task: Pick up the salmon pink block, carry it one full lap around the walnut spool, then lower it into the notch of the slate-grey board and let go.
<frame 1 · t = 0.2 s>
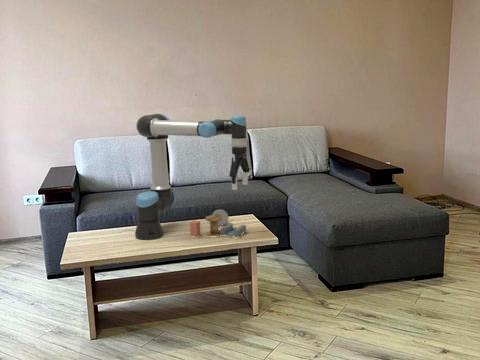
hand: (240, 187, 260), 27 cm above the table, fingers open, 13 cm apart
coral: (220, 224, 291), on the table
notched board: (233, 234, 272), on the table
salmon pink block: (195, 236, 270), on the table
spool: (214, 235, 271), on the table
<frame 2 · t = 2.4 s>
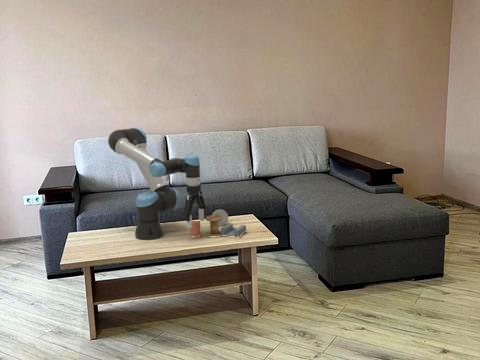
hand: (195, 223, 268), 7 cm above the table, fingers open, 13 cm apart
nothing on the table moved.
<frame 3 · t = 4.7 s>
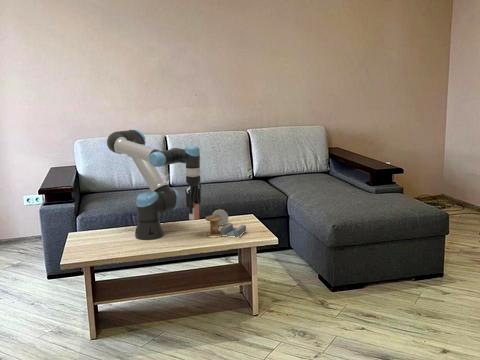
hand: (194, 218, 268), 10 cm above the table, fingers closed on salmon pink block, 4 cm apart
salmon pink block: (194, 218, 268), point 9 cm above the table, touching gripper
everything else where it was.
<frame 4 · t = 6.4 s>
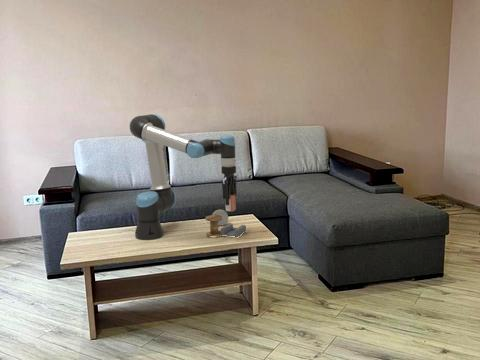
hand: (230, 209, 263), 15 cm above the table, fingers closed on salmon pink block, 4 cm apart
salmon pink block: (230, 210, 263), point 15 cm above the table, touching gripper
everything else where it was.
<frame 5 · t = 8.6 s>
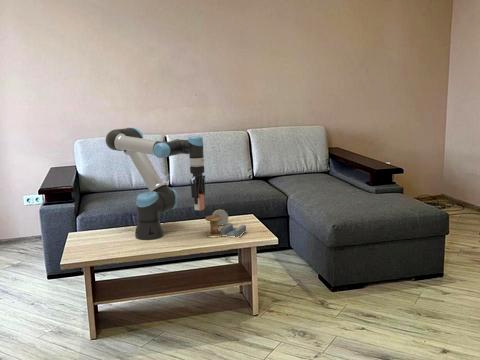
hand: (199, 208, 268), 15 cm above the table, fingers closed on salmon pink block, 4 cm apart
salmon pink block: (199, 209, 268), point 15 cm above the table, touching gripper
everything else where it was.
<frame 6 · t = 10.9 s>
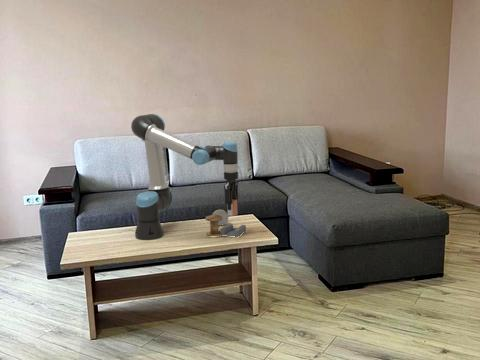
hand: (232, 214, 268), 11 cm above the table, fingers closed on salmon pink block, 4 cm apart
salmon pink block: (232, 214, 268), point 11 cm above the table, touching gripper
everything else where it was.
when the fingers open (2 cm above the table, at t = 12.7 s): salmon pink block stays where it is, resting on notched board.
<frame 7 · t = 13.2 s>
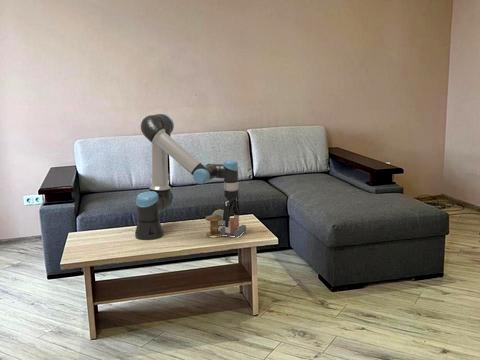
hand: (232, 229, 270), 3 cm above the table, fingers open, 11 cm apart
salmon pink block: (232, 233, 270), point 1 cm above the table, touching notched board
everything else where it was.
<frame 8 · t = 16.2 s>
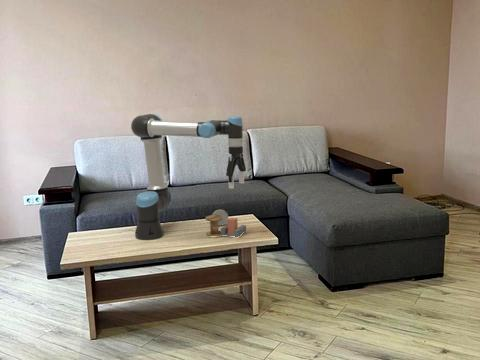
hand: (236, 185, 267), 27 cm above the table, fingers open, 13 cm apart
nothing on the table moved.
at the end: salmon pink block inside the target area on the notched board (0.5 cm from its centre), point 1.0 cm above the notched board's base; salmon pink block tilted 0°; the gripper is holding nothing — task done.
